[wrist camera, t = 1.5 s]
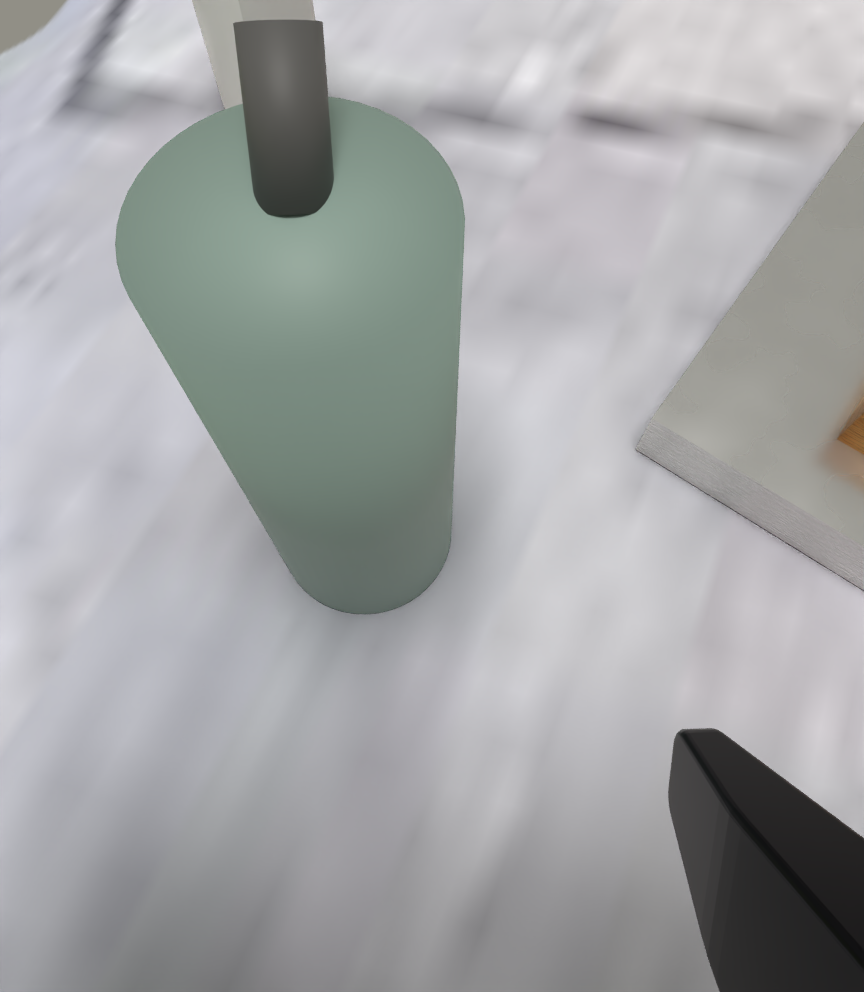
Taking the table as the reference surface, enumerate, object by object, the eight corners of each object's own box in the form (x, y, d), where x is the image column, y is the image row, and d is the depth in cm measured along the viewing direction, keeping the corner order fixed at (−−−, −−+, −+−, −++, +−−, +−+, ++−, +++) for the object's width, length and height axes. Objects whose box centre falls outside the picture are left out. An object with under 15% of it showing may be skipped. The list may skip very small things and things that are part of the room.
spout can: (454, 611, 22) (479, 274, 9) (278, 616, 22) (22, 286, 9) (448, 451, 24) (461, -32, 11) (286, 456, 24) (86, -23, 11)
